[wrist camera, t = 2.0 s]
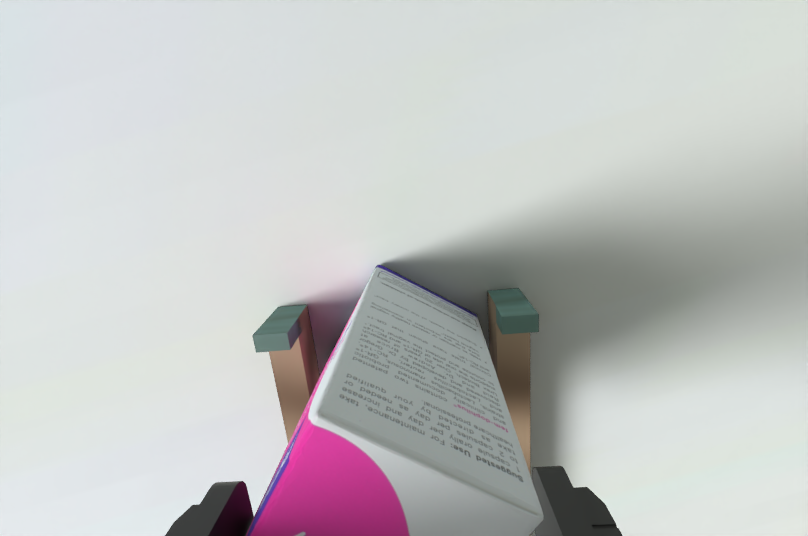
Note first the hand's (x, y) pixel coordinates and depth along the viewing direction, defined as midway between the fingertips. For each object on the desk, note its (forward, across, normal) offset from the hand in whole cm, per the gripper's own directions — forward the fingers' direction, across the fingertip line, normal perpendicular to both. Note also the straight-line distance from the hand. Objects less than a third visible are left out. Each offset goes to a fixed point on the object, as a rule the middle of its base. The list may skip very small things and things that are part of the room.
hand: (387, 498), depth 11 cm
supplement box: (+10, 0, 0) cm, 10 cm away
